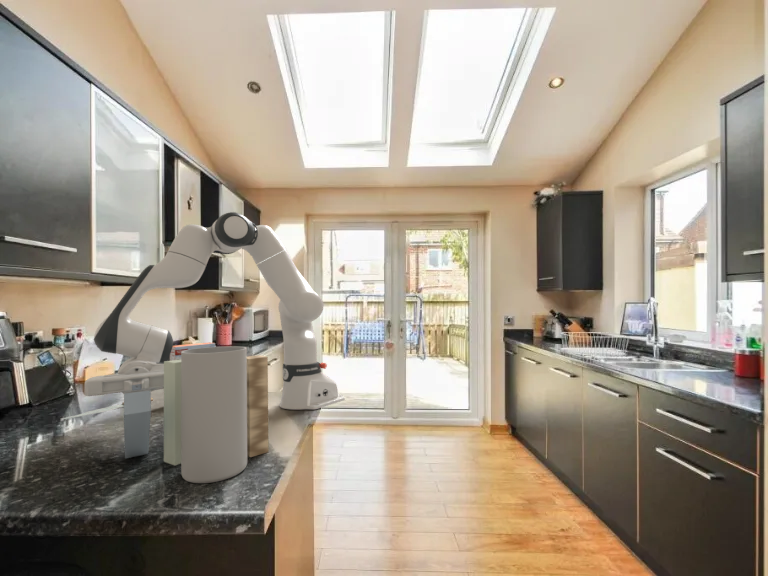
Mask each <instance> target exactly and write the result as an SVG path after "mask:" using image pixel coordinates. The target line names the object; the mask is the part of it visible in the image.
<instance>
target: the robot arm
mask: <svg viewBox="0 0 768 576" xmlns="http://www.w3.org/2000/svg"><path fill="white" fill-rule="evenodd" d="M241 249H242V250H244V251H246V252H247V253H248V254H249V255H250V256H251V257H252V260H253V262H254V263H255V265H256V267H257V269H258V270H259V271H260V274H261V275H262V277H263V279H264V280H265V283H267V285H268V287H270V289H272V292H274V294H275V295H276V296H277V298H279V302H278V312H279V316H280V325H281V332H282V337H283V363H282V379H283V383H282V393H281V399H280V401H279V407H280V408H281V409H285V410H317V409H321V408H324V407H328V406H331V405H334V404H338V403H340V402H343V401H346V400H345V396H344V395H342V394H339V390H338V385H337V383H336V382H335V380H333V379H332V378H330V377H329V376H327V375H326V374H325V373H324V372H322V369H324V370H325V369H327V367H328V364H327V362H318V359H317V358H318V355H317V354H318V353H317V352H318V350H317V337H316V335H315V332H314V326H313V322H314V321H315V320H317V319H318V318H320V316H321V315H322V313H323V310H324V302H323V300H322V297H321V296H320V295H319V294H318V293H317V292H315V290H314V289H313V287H312V286H311V285H310V283H309V282H308V280H307V279H306V278H305V277H304V276H303V275H302V273H301V272H300V271H299V269H298V268H297V266H296V264H295V263H294V260H293V259H292V257H291V255H290V254H289V252H288V250H287V248H286V247H285V245H284V243H283V242H282V241H281V239H280V238H279V236H278V234H277V233H276V232H275V231H274V229H272V227H270V226H268V225H265V224H259V225H257V224H255V223H254V222H252V221H251V220H250V219H248V218H247V217H246V216H245V215H244V214H241V213H239V212H236V211H235V212H234V211H233V212H231V211H230V212H226V213H223V214H221V215H220V216H219V217H218V218H217V219H216V220H215V221H214V222H213V223H212V225H211V226H209V227H204V226H203V225H199V224H195V223H194V224H193V223H191V224H186V225H185V226H183V227H182V228H181V229H180V231H179V232H178V233H177V234H176V236H175V238H174V239H173V241H172V243H171V245H170V246H169V248H168V250H167V252H166V253H165V256H164V257H163V258H162V259H161V260H160V261H159V262H157V263H155V264H149V265H147V266H146V267H144V269H143V270H142V271H141V272H140V274H139V275H138V276H137V278H136V279H135V280H134V282H133V283H132V284H131V285H130V286H129V288H128V289H127V291H126V292H125V294H124V295H123V297H122V298H121V299H120V300H119V302H118V303H117V305H116V306H115V307H114V309H113V310H112V311H111V313H110V314H108V316H107V317H106V318H104V319H103V320H102V321H101V323H100V324H99V325H98V327H97V328H96V330H95V333H94V337H93V342H94V344H95V345H96V347H97V348H98V349H99V351H101V353H102V352H103V353H107V354H109V353H110V354H114V355H116V354H118V355H122V356H125V357H126V356H127V357H129V358H127V359H126V360H125V361H124V362H123V363H122V364H121V365H120V366H119V369H118V370H117V373H115V374H113V373H112V374H104V375H103V374H102V375H97V376H93V377H92V376H91V377H89V378H87V379H86V380H85V381H84V395H85V397H92V396H93V397H94V396H95V397H96V396H103V395H110V394H111V395H113V394H123V395H124V394H125V393H134V392H142V391H151V392H154V391H157V390H162V389H163V390H164V361H169V359H170V353H171V350H172V346H174V338H173V335H172V333H171V332H170V330H168V329H165V328H162V327H159V326H155V325H151V324H147V323H144V322H140V321H137V320H134V319H131V317H130V315H131V313H132V312H133V310H134V309H135V308H136V307H137V305H138V303H139V302H140V301H141V299H142V298H143V296H145V294H146V293H147V292H149V291H151V290H155V289H183V288H188V287H191V286H193V285H195V284H196V283H197V282H198V281H199V280H200V279H201V277H202V276H203V274H204V272H205V270H206V267H207V264H208V262H209V259H210V257H211V256H212V255H213V253H214V254H220V255H232V254H234V253H236V252H237V251H239V250H241Z"/></svg>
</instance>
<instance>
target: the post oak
mask: <svg viewBox="0 0 768 576" xmlns="http://www.w3.org/2000/svg"><path fill="white" fill-rule="evenodd" d="M268 359H269V358H268V356H265V355H259V354H258V355H247V458H248V457H249V458H252V457H256V456H259V455H260V456H261V455H262V454H267V453H269V451H270V447H269V445H270V444H269V442H270V441H269V439H270V438H269V364H268V362H269V361H268Z"/></svg>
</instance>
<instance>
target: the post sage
mask: <svg viewBox="0 0 768 576" xmlns="http://www.w3.org/2000/svg"><path fill="white" fill-rule="evenodd" d="M163 462H164V463H166V464H170V465H172V466H179V465H181V359H179V360H172V361H170V360H167V361H164V389H163Z"/></svg>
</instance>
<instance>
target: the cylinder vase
mask: <svg viewBox="0 0 768 576" xmlns="http://www.w3.org/2000/svg"><path fill="white" fill-rule="evenodd" d="M247 349H248V348H247V347H246V346H215V347H207V348H197V349H190V350H185V351H182V352H181V464H180V470H181V471H180V472H181V476H182V479H183V480H184V481H186V482H189V483H194V484H212V483H217V482H221V481H224V480H227V479H230V478H233V477H235V476H237V475H239V474H240V473H242V472H243V471H244V470H245V469H246V467H247V465H248V456H247V357H248V355H247V354H248V353H247Z"/></svg>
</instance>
